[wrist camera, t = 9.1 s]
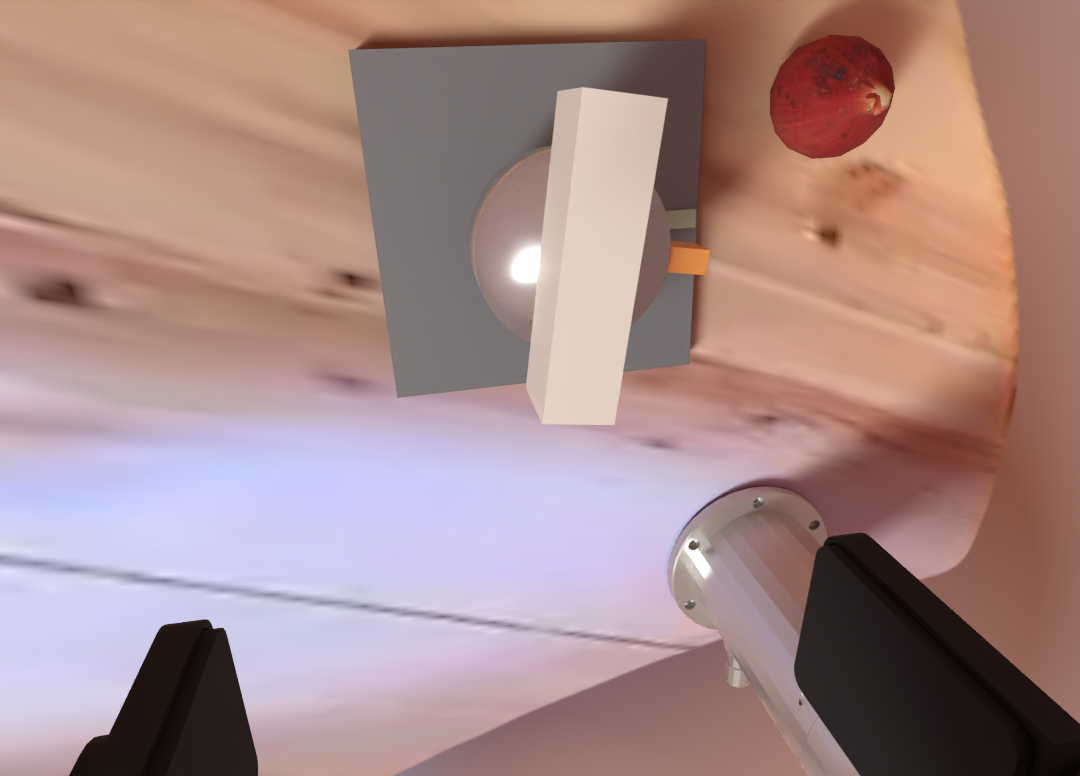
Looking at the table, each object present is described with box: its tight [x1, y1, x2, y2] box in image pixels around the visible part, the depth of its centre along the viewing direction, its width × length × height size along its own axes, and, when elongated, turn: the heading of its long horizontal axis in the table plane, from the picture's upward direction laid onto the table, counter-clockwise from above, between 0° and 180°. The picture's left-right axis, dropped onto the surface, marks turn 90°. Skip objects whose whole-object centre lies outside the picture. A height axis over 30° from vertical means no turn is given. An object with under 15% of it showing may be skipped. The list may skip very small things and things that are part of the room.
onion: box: [770, 35, 895, 158], centre depth 33 cm, size 6×6×8 cm
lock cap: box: [468, 87, 710, 425], centre depth 29 cm, size 11×13×7 cm
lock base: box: [349, 39, 706, 398], centre depth 34 cm, size 18×18×6 cm
